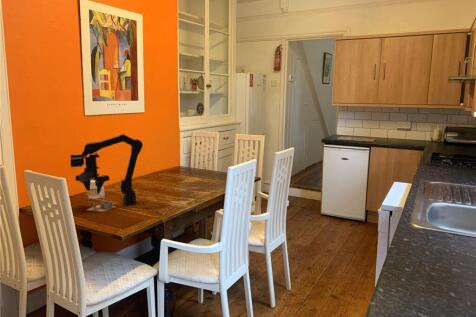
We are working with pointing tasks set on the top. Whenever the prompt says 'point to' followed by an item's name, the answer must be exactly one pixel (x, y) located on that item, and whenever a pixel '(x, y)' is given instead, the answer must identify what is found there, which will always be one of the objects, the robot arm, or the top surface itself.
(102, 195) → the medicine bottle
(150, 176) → the top surface
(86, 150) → the robot arm
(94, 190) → the brass gear
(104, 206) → the grey gear
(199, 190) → the top surface
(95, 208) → the birch gear board
